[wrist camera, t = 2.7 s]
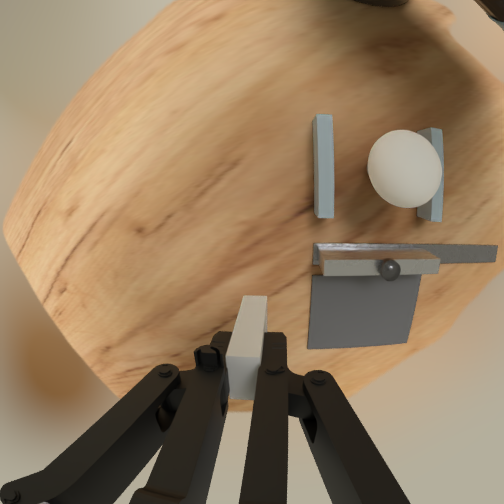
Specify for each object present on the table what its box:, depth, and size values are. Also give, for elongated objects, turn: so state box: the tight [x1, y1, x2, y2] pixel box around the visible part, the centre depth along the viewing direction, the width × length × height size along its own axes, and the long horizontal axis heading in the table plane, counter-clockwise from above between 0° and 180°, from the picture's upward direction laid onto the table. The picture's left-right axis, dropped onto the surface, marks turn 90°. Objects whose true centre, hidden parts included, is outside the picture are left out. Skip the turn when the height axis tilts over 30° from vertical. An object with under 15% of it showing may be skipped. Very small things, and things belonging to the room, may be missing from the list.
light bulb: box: [367, 130, 442, 208], centre depth 22 cm, size 7×7×11 cm
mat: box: [307, 274, 421, 349], centre depth 31 cm, size 10×14×1 cm
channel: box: [312, 114, 444, 222], centre depth 25 cm, size 10×14×4 cm
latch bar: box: [318, 247, 440, 281], centre depth 27 cm, size 2×13×6 cm, turn 92°
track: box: [313, 243, 498, 265], centre depth 29 cm, size 2×28×1 cm, turn 92°
